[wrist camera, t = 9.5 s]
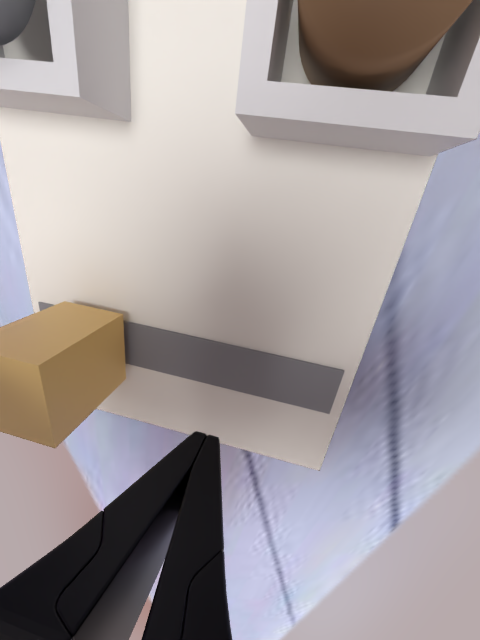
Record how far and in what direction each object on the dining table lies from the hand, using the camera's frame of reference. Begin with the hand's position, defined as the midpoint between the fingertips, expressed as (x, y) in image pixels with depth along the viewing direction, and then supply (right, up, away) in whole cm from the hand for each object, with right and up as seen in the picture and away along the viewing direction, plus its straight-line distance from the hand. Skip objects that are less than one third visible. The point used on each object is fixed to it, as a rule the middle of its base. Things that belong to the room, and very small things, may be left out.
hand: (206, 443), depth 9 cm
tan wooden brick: (-6, +3, +4) cm, 8 cm away
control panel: (0, +9, +4) cm, 10 cm away
